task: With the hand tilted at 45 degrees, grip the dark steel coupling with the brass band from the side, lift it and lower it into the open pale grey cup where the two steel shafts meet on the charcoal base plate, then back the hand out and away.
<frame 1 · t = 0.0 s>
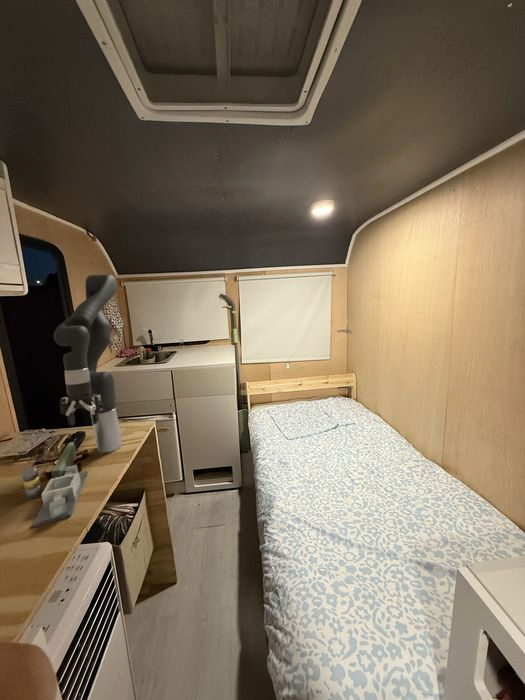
hand: (84, 424, 103), 17 cm above the worktop, tool pointing down, fingers open, 8 cm apart
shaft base: (64, 496, 90), on the worktop
coupling: (34, 494, 92), on the worktop
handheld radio: (68, 468, 107), on the worktop, touching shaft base
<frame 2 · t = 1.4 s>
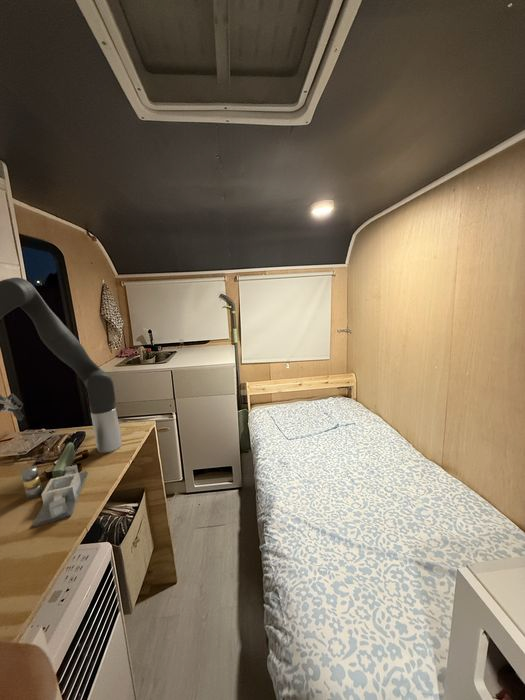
hand: (7, 424, 92), 23 cm above the worktop, tool tilted 45°, fingers open, 8 cm apart
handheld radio: (68, 468, 106), on the worktop
everything else where it was.
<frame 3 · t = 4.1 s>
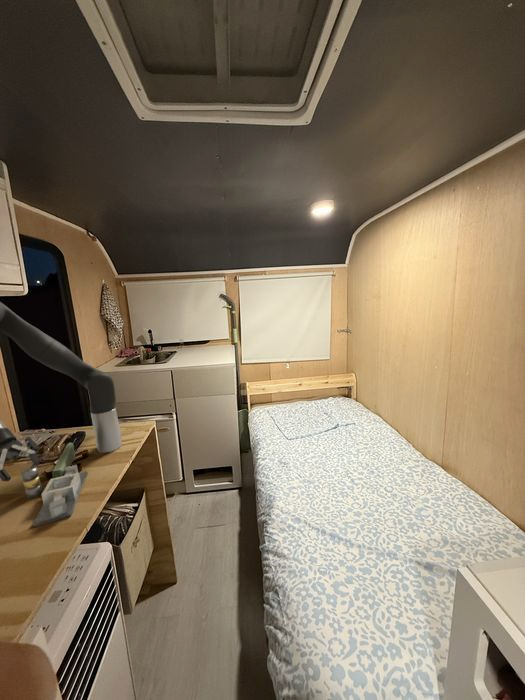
hand: (24, 471, 91), 8 cm above the worktop, tool tilted 45°, fingers open, 8 cm apart
nothing on the worktop moved.
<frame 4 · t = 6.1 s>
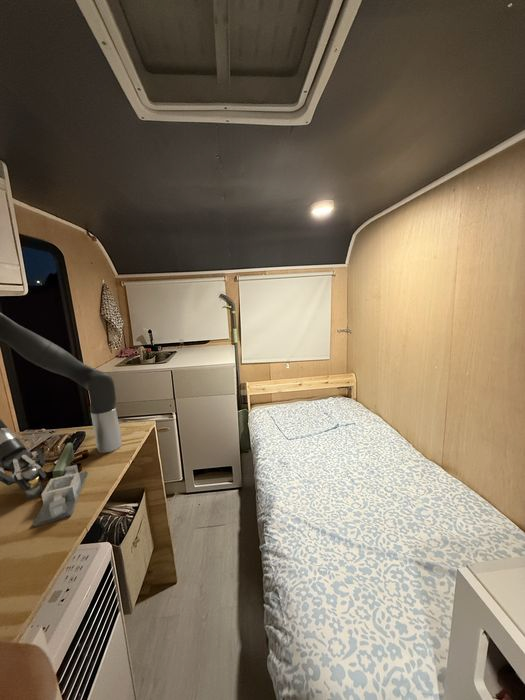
hand: (36, 484, 90), 4 cm above the worktop, tool tilted 45°, fingers closed on coupling, 4 cm apart
coupling: (34, 494, 92), on the worktop, touching gripper
everything else where it was.
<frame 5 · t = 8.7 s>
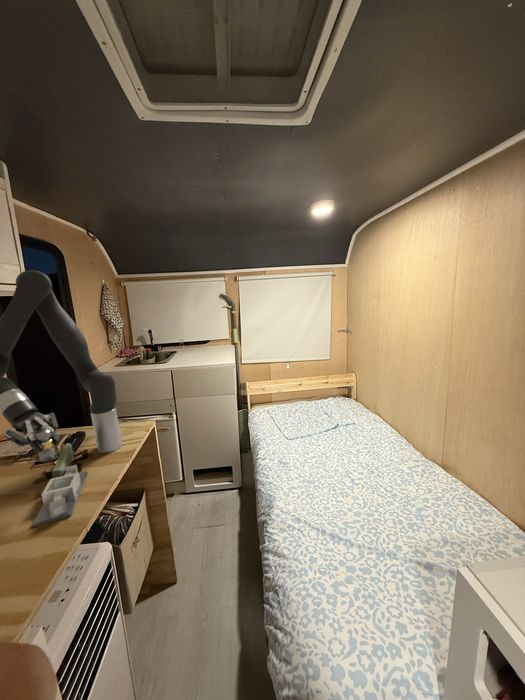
hand: (49, 446, 86), 18 cm above the worktop, tool tilted 45°, fingers closed on coupling, 4 cm apart
coupling: (48, 457, 88), point 14 cm above the worktop, touching gripper
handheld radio: (67, 468, 106), on the worktop, touching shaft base
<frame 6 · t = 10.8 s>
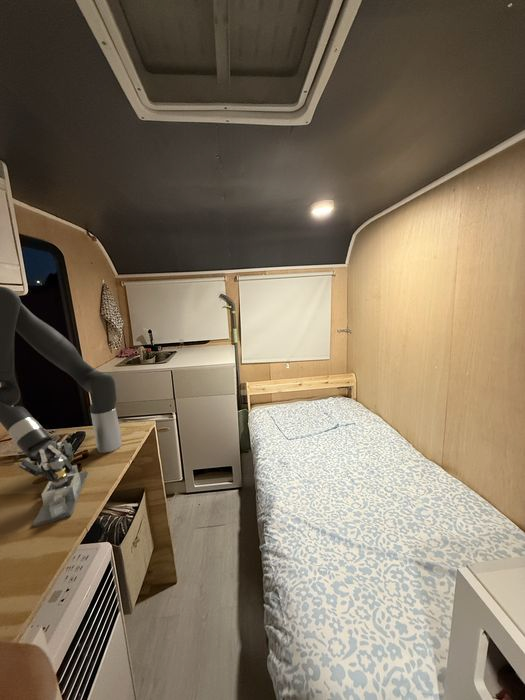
hand: (63, 475, 87), 8 cm above the worktop, tool tilted 45°, fingers closed on coupling, 4 cm apart
coupling: (60, 486, 89), point 4 cm above the worktop, touching gripper
everything else where it was.
when the fingers open (6 cm above the worktop, at t = 11.5 s): coupling drops 1 cm, resting on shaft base.
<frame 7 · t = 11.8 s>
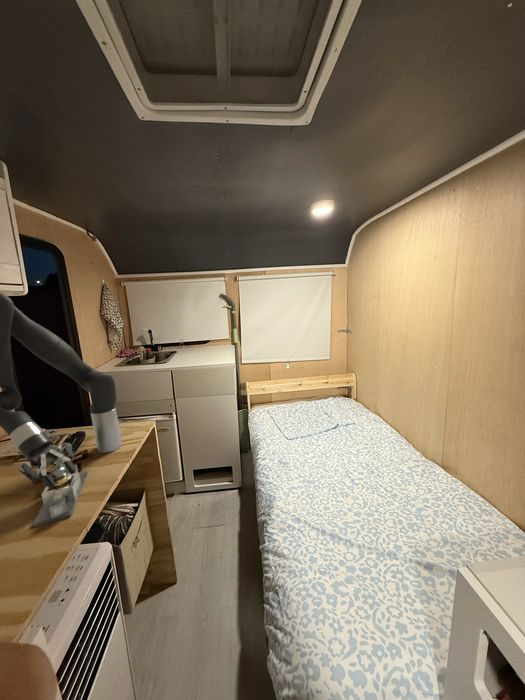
hand: (63, 478, 88), 7 cm above the worktop, tool tilted 45°, fingers open, 6 cm apart
coupling: (63, 493, 90), point 1 cm above the worktop, touching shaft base
everything else where it was.
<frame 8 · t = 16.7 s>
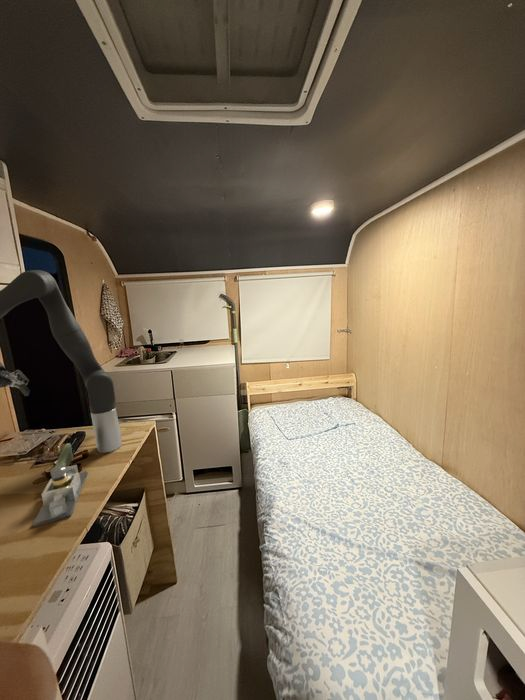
hand: (13, 398, 93), 31 cm above the worktop, tool tilted 45°, fingers open, 8 cm apart
nothing on the worktop moved.
at the end: coupling 0.1 cm off-centre on the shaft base, point 1.0 cm above the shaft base's base; coupling tilted 0°; the gripper is holding nothing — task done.
